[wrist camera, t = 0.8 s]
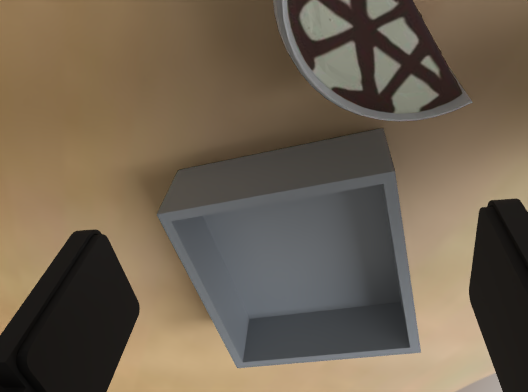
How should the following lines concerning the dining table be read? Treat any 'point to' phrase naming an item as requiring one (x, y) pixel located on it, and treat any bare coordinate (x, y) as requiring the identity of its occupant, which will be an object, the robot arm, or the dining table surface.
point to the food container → (370, 57)
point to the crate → (298, 251)
